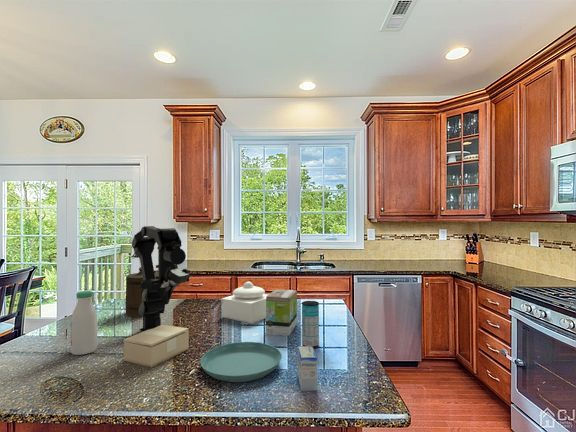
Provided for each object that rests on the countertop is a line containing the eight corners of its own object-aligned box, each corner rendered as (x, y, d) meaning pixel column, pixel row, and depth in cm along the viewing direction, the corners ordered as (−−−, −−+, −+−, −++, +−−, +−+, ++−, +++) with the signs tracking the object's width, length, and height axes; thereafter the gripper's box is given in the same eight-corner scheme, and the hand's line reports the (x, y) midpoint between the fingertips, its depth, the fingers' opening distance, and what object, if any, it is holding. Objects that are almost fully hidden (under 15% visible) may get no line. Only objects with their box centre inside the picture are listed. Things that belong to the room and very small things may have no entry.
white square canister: (276, 314, 158) (275, 280, 158) (251, 324, 143) (251, 286, 143) (247, 309, 167) (247, 277, 168) (221, 317, 152) (221, 282, 153)
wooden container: (151, 316, 154) (151, 268, 154) (119, 316, 154) (119, 268, 154) (163, 308, 169) (163, 264, 169) (134, 308, 169) (134, 264, 169)
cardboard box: (123, 360, 106) (123, 341, 106) (162, 343, 120) (162, 326, 120) (152, 367, 100) (152, 347, 101) (188, 349, 115) (188, 331, 115)
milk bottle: (102, 348, 116) (102, 290, 116) (82, 357, 109) (82, 295, 109) (86, 345, 118) (86, 288, 119) (65, 354, 111) (65, 293, 111)
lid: (123, 341, 106) (123, 339, 106) (162, 326, 120) (162, 324, 120) (151, 346, 101) (151, 343, 101) (188, 330, 115) (188, 327, 115)
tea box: (290, 336, 127) (290, 297, 127) (264, 334, 129) (264, 296, 129) (297, 324, 142) (297, 289, 142) (274, 322, 144) (274, 288, 144)
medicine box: (297, 377, 94) (297, 346, 94) (313, 376, 94) (312, 345, 94) (300, 391, 86) (300, 357, 86) (317, 391, 87) (317, 357, 87)
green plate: (207, 352, 112) (207, 342, 113) (279, 350, 114) (279, 340, 114) (192, 389, 88) (192, 376, 88) (284, 385, 90) (284, 372, 90)
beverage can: (320, 343, 120) (320, 301, 120) (317, 349, 114) (317, 305, 114) (304, 341, 121) (303, 300, 121) (300, 347, 116) (300, 304, 116)
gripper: (163, 266, 113) (163, 313, 113) (200, 260, 130) (200, 300, 130) (139, 264, 118) (139, 309, 117) (178, 259, 135) (178, 298, 134)
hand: (166, 304), depth 125 cm, fingers closed
